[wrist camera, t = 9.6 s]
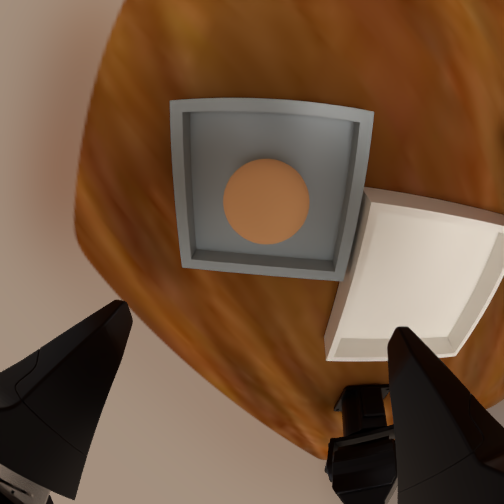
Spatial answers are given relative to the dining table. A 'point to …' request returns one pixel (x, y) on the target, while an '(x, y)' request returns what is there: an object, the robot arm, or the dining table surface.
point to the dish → (415, 275)
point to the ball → (266, 201)
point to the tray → (279, 148)
